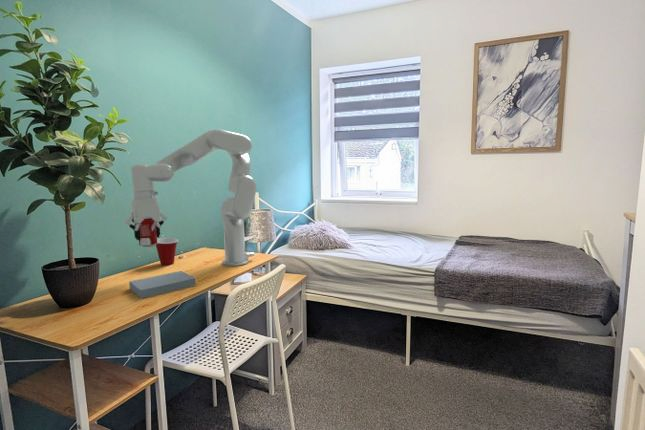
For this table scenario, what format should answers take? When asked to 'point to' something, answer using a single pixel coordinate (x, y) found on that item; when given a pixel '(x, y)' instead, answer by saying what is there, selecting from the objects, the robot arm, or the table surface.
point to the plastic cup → (166, 250)
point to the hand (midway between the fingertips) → (147, 238)
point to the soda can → (148, 233)
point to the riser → (162, 284)
